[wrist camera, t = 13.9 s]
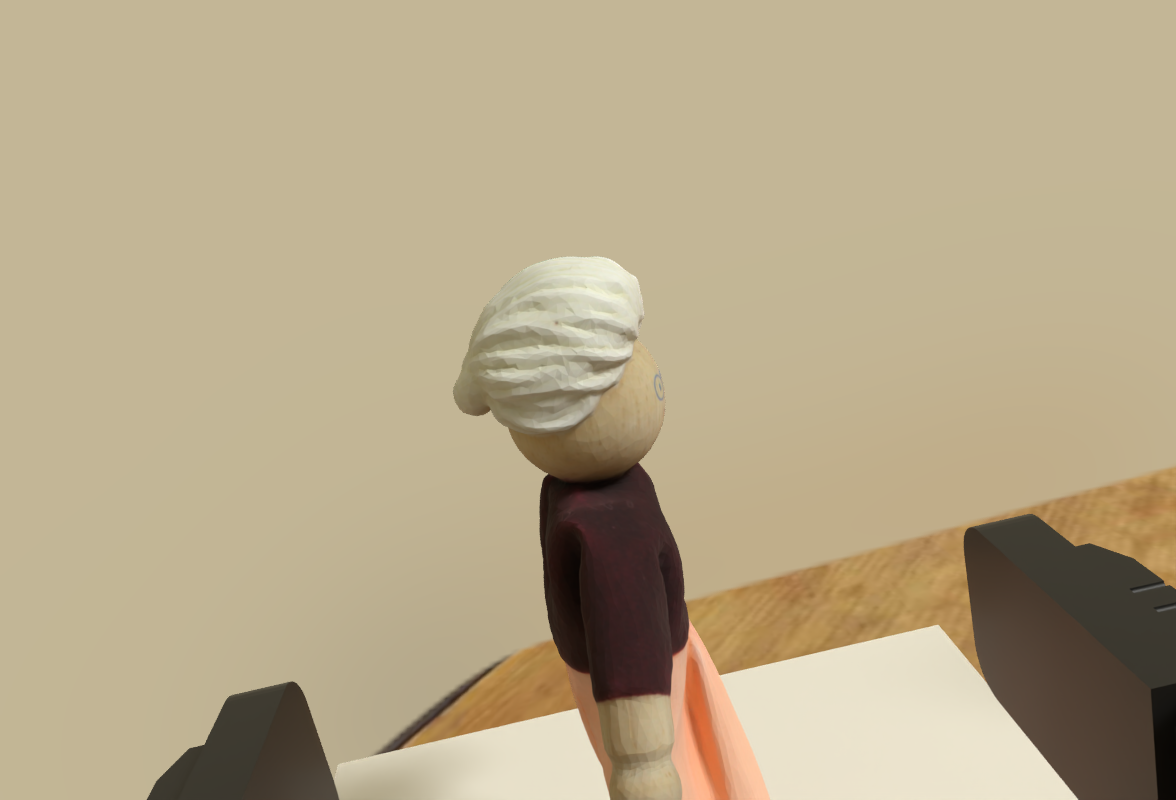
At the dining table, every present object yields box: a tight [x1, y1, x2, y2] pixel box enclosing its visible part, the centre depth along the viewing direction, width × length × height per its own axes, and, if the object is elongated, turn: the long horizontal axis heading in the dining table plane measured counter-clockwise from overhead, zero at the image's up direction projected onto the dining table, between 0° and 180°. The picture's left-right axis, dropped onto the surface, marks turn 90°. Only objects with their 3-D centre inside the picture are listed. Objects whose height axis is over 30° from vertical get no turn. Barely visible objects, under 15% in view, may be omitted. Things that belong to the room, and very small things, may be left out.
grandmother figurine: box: [453, 256, 770, 800], centre depth 18 cm, size 8×4×13 cm, turn 16°
